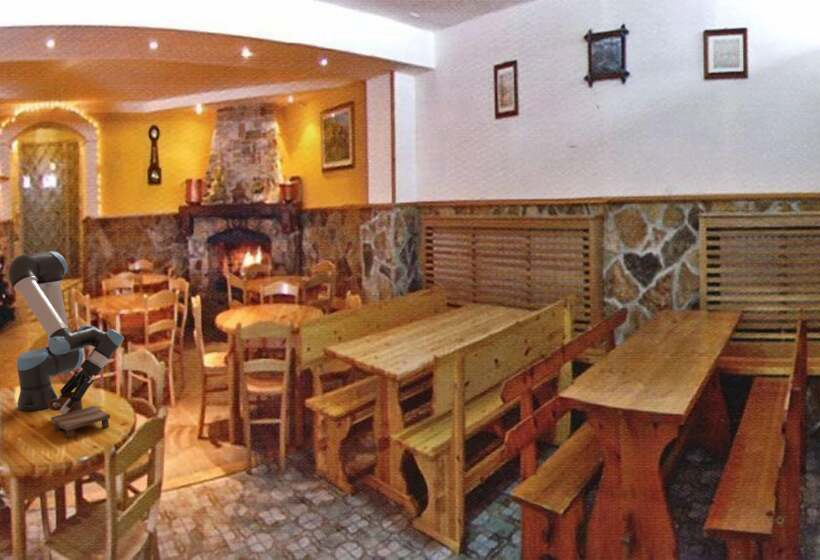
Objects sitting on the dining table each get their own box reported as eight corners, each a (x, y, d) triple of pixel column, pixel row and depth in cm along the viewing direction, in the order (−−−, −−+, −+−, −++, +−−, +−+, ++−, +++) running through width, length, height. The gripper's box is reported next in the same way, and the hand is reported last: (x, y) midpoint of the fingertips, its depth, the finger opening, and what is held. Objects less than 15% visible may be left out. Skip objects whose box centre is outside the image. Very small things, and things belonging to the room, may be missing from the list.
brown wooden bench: (52, 429, 251) (51, 417, 251) (94, 417, 263) (93, 405, 262) (67, 439, 242) (66, 427, 241) (111, 426, 253) (109, 414, 252)
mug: (51, 424, 257) (48, 401, 255) (49, 419, 263) (46, 396, 262) (84, 416, 263) (81, 394, 262) (81, 411, 270) (78, 390, 268)
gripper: (112, 372, 265) (75, 422, 256) (91, 364, 278) (55, 410, 269) (97, 363, 260) (59, 413, 251) (76, 354, 274) (39, 402, 264)
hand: (57, 411), depth 260 cm, fingers closed on mug, 8 cm apart
